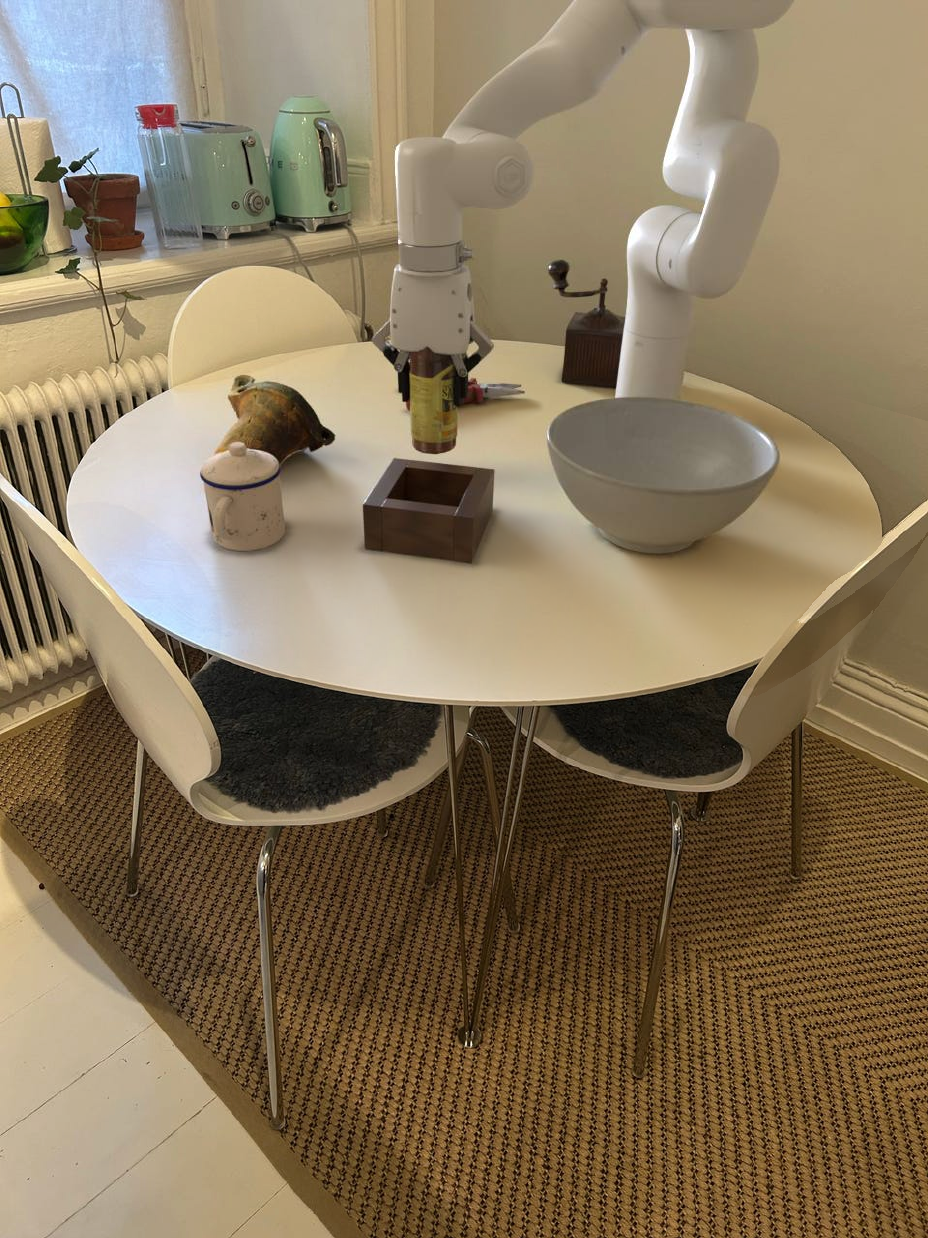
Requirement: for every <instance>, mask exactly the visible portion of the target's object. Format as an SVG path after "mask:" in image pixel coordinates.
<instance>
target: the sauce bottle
mask: <svg viewBox="0 0 928 1238" xmlns="http://www.w3.org/2000/svg"><path fill="white" fill-rule="evenodd" d="M409 358H410V359H409V362H410V369H409V386H410V411H409V416H410V417H409V419H410V436H411V443H412V444H411V445H412V447H413V448H414V450H416V451H417V452H419V453H421V454H427V455H439V454H445V453H448V452H450V451H453V450H454V449H455V448H456V444H457V436H458V407H457V406H455V405H454V377H455V375H456V374H457V370H456V367H455V365H454V363H453V360H452V358H451V356H450V355H443V354H438V353H434V352H433V351H432V350H431V349H430V348H429V347H428V346H427V347H425V348H424V349H423V350H419V351H418V352H410V354H409Z"/></svg>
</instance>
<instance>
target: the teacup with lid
mask: <svg viewBox="0 0 928 1238" xmlns="http://www.w3.org/2000/svg"><path fill="white" fill-rule="evenodd" d="M213 455H214V454H213ZM213 455H212V456H210V457H209V458H207V459H206V460H205V461H204V462H203V463H202V465H201V468H200V472H199V476H200V479H201V480H202V481H203V487H204V493H205V499H206V505H207V512H208V518H209V523H210V530H211V535H212V538H213V541H214V542H215V543H216V544H217V545H219V546H220V547H222V548H224V549H227V550H231V551H236V552H237V551H238V552H251V551H252V552H253V551H258V550H262V549H265V548H268V547H272V546H274V545H275V544H276V543H278V542H279V541H281V539H282V538H283V537H284V535H285V533H286V523H285V522H286V521H285V513H284V505H283V504H284V503H283V495H282V486H281V478H280V474H281V471H282V468H281V465H280V464H279V462H278V461H277V459H276V458H275V457H274V456H272V455H271V454H269V453H266V452H263V451H259V450H252V449H247V447H246V445H245V444H244V443H242V442H234V443H232V444H230V445H229V450H227V451H225V452H222V453H219V454H216V455H214V456H213Z"/></svg>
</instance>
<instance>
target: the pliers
mask: <svg viewBox="0 0 928 1238" xmlns="http://www.w3.org/2000/svg"><path fill="white" fill-rule="evenodd" d="M521 387H522V384H519V383H506V382H505V383H504V382H503V383H502V382H482V383H478V381H477V378H476V377H471V378H469V379H468V397H467V398H464V400H463V402H462V403H461V405H463V404H467V403H470V402H473V403H474V404H476V405H477V404H482V403H483V401H484V400H483V399H484V398H499V397H507V396H514V395H523V394H525V393H526V391H525V390H522V389H518V388H521ZM405 407H406V410H408V411H409V412H410V399H409V401H407V402H405Z"/></svg>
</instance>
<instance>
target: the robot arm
mask: <svg viewBox="0 0 928 1238" xmlns="http://www.w3.org/2000/svg"><path fill="white" fill-rule="evenodd" d="M794 3H795V0H572V2H571V3H570V4H569V6H568V7H567V8H566V9H565V11H564V12H563V13H562V14H561V16H559V18H558V19H557V20H556V21H555V23H554V24H553V25H552V27H550V29H549V30H548V32H547V33H545V35H544V36H543V37H542V38H541V39H540V40H539V41H538V42H536V43H535V44H534V45H532V46H531V47H529V48H528V49H527V50H525V51H524V52H523V53H521V54H520V55H519V56H518V57H516V58H515V59H514V60H513V61H512V62H510V63H509V64H508V65H507V66H505V67H504V68H503V69H501V70H500V71H499V72H498V73H496V74H495V75H494V76H493V77H491V78H490V79H489V80H488V81H487V82H485V83H484V84H483V85H482V87H480V88H479V90H477V91H476V93H474V95H473V96H471V98H470V99H469V100H468V102H467V103H466V104H465V105H464V106H463V108H462V109H461V110H460V112H459V113H458V114H457V116H456V117H455V118H454V119H453V120H452V122H451V123H450V124H449V125H448V127H447V129H446V130H445V132H444V134H443V135H442V137H440V136H439V137H438V136H419V137H411V138H406V139H404V140H402V141H401V142H399V143H398V145H397V146H396V149H395V152H394V161H395V162H394V164H395V165H394V166H395V167H394V168H395V187H396V189H395V190H396V191H395V192H396V213H397V233H398V234H397V237H398V241H397V242H398V263H397V264H396V265H395V267H394V270H393V276H392V283H391V293H390V310H389V311H390V312H389V315H390V316H389V320H388V321H387V322H385V324H384V325H383V326H382V327H381V328H380V329H379V330H378V331H377V332H376V333H374V335H373V336H372V337H371V342H372V344H373V345H374V346H375V347H376V348H377V349H378V351H380V352H381V353H382V355H383V356H384V358H385V359H386V360H387V361H388V363H390V364H391V365H392V366H393V369H394V371H395V372H397V388H398V389H397V390H398V393H399V394H401V401H402V402H403V403H406V402H407V401H409V399H410V386H409V369H410V358H409V354H410V352H418V351H419V350H423V349H424V348H425V347H427V346H428V347H429V348H430V349H431V350H432V351H433V352H434V353H438V354H443V355H450V356H451V358H452V360H453V363H454V365H455V367H456V370H457V374H456V375H455V377H454V405H455V406H457V408H460V407H461V405H462V404H461V403H462V402H463V400H464V398H467V397H468V381H469V373H470V372H471V371H472V370H474V369H475V368H476V367H477V366H478V365H479V364H480V363H481V362H482V361H483V360H484V359H485V358H486V357H487V356H488V355H489V354H491V352H492V351H493V349H494V347H495V344H494V342H493V341H492V340H491V339H490V338H489V337H488V336H487V334H485V332H483V330H482V329H481V328H480V327H479V326H478V325H477V324H476V323H475V322H476V321H475V308H474V307H475V305H474V303H475V302H474V293H473V285H472V284H473V283H472V277H471V272H470V269H469V266H467V265H463V263H464V262H467V261H474V258H475V249H474V248H473V247H468V246H466V244H465V243H464V239H463V209H464V208H476V209H487V210H488V209H490V210H491V209H492V210H500V209H507V208H510V207H512V206H515V205H516V204H518V203H520V202H521V201H522V200H523V199H524V198H525V197H526V196H527V195H528V193H529V192H530V190H531V188H532V185H533V183H534V178H535V167H534V166H535V165H534V161H533V159H532V156H531V154H530V153H529V151H528V150H527V148H526V147H525V146H524V145H523V144H522V143H520V142H519V141H518V140H516V139H517V138H518V137H519V136H521V135H522V134H523V133H524V132H525V131H527V130H528V129H529V128H531V127H532V126H534V125H537V123H539V122H541V121H542V120H545V119H547V118H549V117H551V116H554V115H557V114H560V113H564V112H566V111H570V110H572V109H575V108H577V107H579V106H581V105H583V104H585V103H587V102H589V101H591V100H592V99H594V98H595V97H596V96H597V95H598V94H599V93H601V91H602V89H603V88H604V87H605V86H606V85H607V83H608V82H609V81H610V79H611V78H612V77H613V76H614V74H615V73H616V72H617V71H618V69H619V68H620V67H621V66H622V65H623V63H624V62H625V61H626V60H627V59H628V57H629V56H630V55H631V53H632V52H633V51H634V50H635V49H636V47H637V46H638V45H639V44H640V43H641V42H642V40H643V39H644V38H645V36H647V34H649V32H651V31H652V30H653V29H667V30H668V29H671V30H672V29H673V30H685V33H686V37H687V42H688V46H689V67H688V68H689V69H688V74H687V78H686V82H685V86H684V90H683V93H682V97H681V99H680V102H679V106H678V110H677V113H676V116H675V119H674V123H673V126H672V129H671V133H670V136H669V139H668V142H667V146H666V149H665V153H664V158H663V162H662V178H663V180H664V182H665V184H666V186H667V187H668V188H669V189H670V190H671V191H673V192H674V193H677V194H679V195H680V196H684V197H687V198H691V199H694V200H697V201H701V202H704V205H703V209H702V211H701V212H699V211H696V210H693V209H689V208H685V207H682V206H678V205H671V204H665V205H664V204H663V205H657V206H654V207H651V208H649V209H648V210H646V211H644V212H643V213H642V214H641V215H640V216H639V217H637V219H636V221H635V222H634V224H633V226H632V227H631V230H630V232H629V234H628V239H627V246H626V267H627V269H626V270H627V297H626V300H627V301H626V310H625V316H624V317H625V325H624V331H623V339H622V347H621V355H620V363H619V371H618V379H617V386H616V388H615V396H614V398H619V397H654V398H666V399H674V400H681V395H682V394H681V393H682V388H683V382H684V375H685V370H686V365H687V359H688V353H689V347H690V342H691V337H692V336H691V335H692V331H693V325H694V317H695V304H694V297H697V298H700V299H707V300H711V299H712V300H713V299H716V298H720V297H722V296H724V295H726V294H728V292H730V291H731V290H732V289H733V287H735V285H737V283H738V281H739V280H740V278H741V277H742V275H743V273H744V271H745V269H746V267H747V265H748V263H749V260H750V257H751V255H752V252H753V249H754V248H755V244H756V242H757V239H758V236H759V233H760V230H761V227H762V225H763V222H764V220H765V217H766V214H767V212H768V209H769V206H770V203H771V200H772V198H773V195H774V192H775V188H776V185H777V183H778V178H779V173H780V160H781V158H780V157H781V155H780V149H779V145H778V142H777V140H776V138H775V136H774V135H773V133H772V132H771V130H769V129H768V128H767V127H765V126H763V125H761V124H759V123H755V122H751V121H747V117H748V113H749V110H750V106H751V102H752V99H753V96H754V92H755V89H756V86H757V82H758V76H759V70H760V69H759V68H760V58H759V48H758V43H757V39H756V35H755V31H754V29H755V30H756V29H757V30H759V29H764V28H766V27H769V26H772V25H773V24H775V23H776V22H779V20H780V19H781V18H782V17H784V15H786V14H787V12H788V11H789V10H790V9H791V7H792V6H793V4H794ZM389 336H390V341H389V340H388V337H389ZM473 343H475V344H476V345H477V347H478V348H477V350H475V351H474V352H473V353H472V354H471V355H470V356H469V355H468V350H469V346H470V345H471V344H473Z"/></svg>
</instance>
